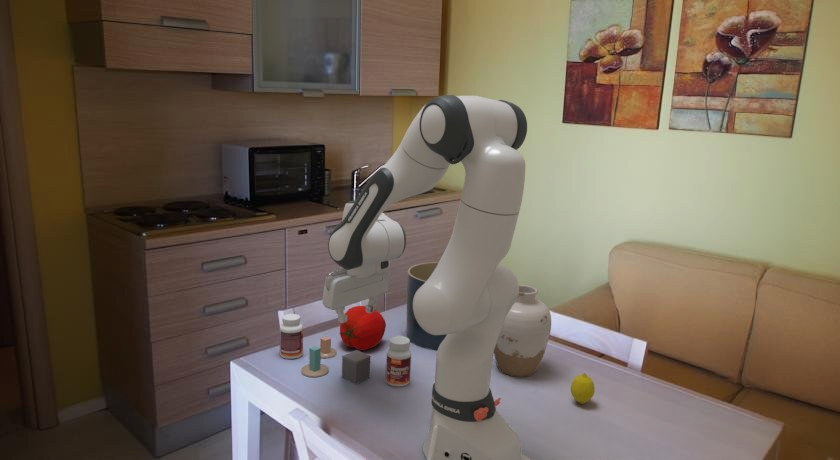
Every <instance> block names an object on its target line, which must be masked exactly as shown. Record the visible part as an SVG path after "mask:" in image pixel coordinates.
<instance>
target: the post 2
mask: <svg viewBox="0 0 840 460" xmlns="http://www.w3.org/2000/svg"><path fill="white" fill-rule="evenodd" d="M319 348H321V359H332V358H334V357H336V355H337V350H336V349H335V348H333V347H332V337H328V336H324V337H322V338H321V337H320V347H319Z"/></svg>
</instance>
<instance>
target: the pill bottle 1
mask: <svg viewBox="0 0 840 460" xmlns="http://www.w3.org/2000/svg"><path fill="white" fill-rule="evenodd" d="M281 322H282V323H281V324H280V326H279V356H281V357H282V358H283V359H285V360H286V359H288V360H294V359H298V358H300V357H302V355H303V354H304V327H303V326H304V325H303V324H302V323H301V316H300V315H299V314H296V313H287V314H284V315H283V316H282V320H281Z"/></svg>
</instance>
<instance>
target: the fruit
mask: <svg viewBox="0 0 840 460" xmlns="http://www.w3.org/2000/svg"><path fill="white" fill-rule="evenodd" d="M570 393H571V396H572V398H573V399H574V400H575V401H577V402H578V403H579V404H582V405H583V404H585V403H587V402H589V401H590V400H591V399H592V398H593V396H594V394H595V384H594V381H593V380H592V378H591V377H590V376H588V375H587V374H586V373H584V372H583V374H579V375H577V376H575V377H574V378H573V379H572V382H571V384H570Z"/></svg>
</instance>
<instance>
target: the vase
mask: <svg viewBox="0 0 840 460" xmlns="http://www.w3.org/2000/svg"><path fill="white" fill-rule="evenodd" d="M537 294H538V289H537V288H536V287H534V286H531V285H527V284H519V295H518V298H517V301H516V302H515V303H514V305H513V306H512V308H511V309H510V311H509V312H508V314H507V316H506V318H505V321H504V324H503V326H502V329H501V332H500V334H499V337H498V340H497V343H496V346H495V350H494V354H493V356H494V358H495V361H496V364H497V367H498V369H499V370H500V372H502V373H503V374H505V375H507V376H509V377H514V378H515V377H516V378H526V377H531V376H532V375H533V374H534V373H535V372H536V371H537V369H538V368H539V365H540V364H541V362H542V360H543V358H544V356H545V352H546V350H547V346H548V342H549V339H550V337H551V336H550V335H551V329H552V315H551V311H550V308H549V307H548V306H547V304H546V303H544V302H543V301H542V300H539V299H537V298H536V295H537Z"/></svg>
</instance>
